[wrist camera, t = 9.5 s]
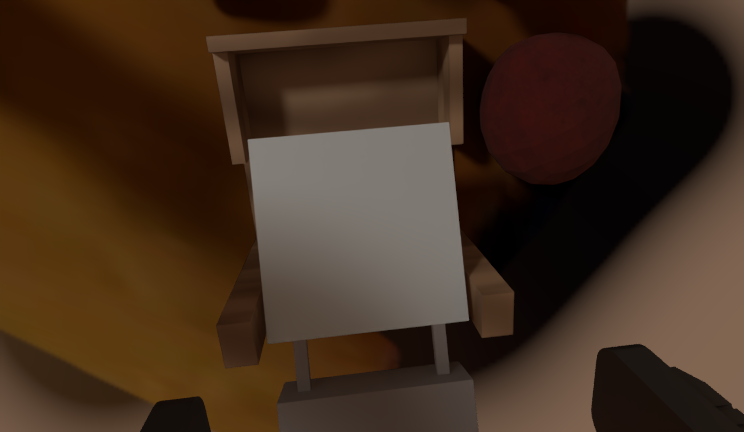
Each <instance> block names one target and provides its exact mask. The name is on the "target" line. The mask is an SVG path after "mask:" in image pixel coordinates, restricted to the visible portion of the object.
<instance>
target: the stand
mask: <svg viewBox="0 0 744 432" xmlns="http://www.w3.org/2000/svg"><path fill="white" fill-rule="evenodd" d="M466 33H467V19H466V18H461V19H447V20H433V21H419V22H405V23H391V24H377V25H363V26H349V27H335V28H321V29H307V30H293V31H279V32H265V33H252V34H238V35H224V36H210V37H206V40H207V46H208V51H209V53H213V59H214V64H215V70H216V75H217V81H218V87H219V92H220V98H221V103H222V109H223V115H224V120H225V126H226V131H227V137H228V143H229V148H230V154H231V159H232V165H234V164H244V167H245V173H246V179H247V185H248V191H249V196H250V202H251V208H252V214H253V220H254V226H255V232H256V239H255V242H254V244H253V246H252V248H251V250H250V253H249V255H248V257H247V259H246V261H245V264H244V266H243V268H242V270H241V272H240V275H239V277H238V279H237V281H236V283H235V285H234V288H233V290H232V292H231V294H230V296H229V299H228V301H227V303H226V305H225V307H224V310H223V312H222V314H221V316H220V318H219V321H218V323H217V325H216V327H217V332H218V337H219V341H220V346H221V351H222V355H223V360H224V364H225V368H233V367H241V366H250V365H258V364H259V360H260V356H261V352H262V348H263V344H264V340H265V336H266V322H265V312H264V302H263V292H262V281H261V271H260V261H259V251H258V240H257V230H256V220H255V210H254V199H253V189H252V179H251V169H250V158H249V148H248V139H260V138H271V137H283V136H294V135H306V134H317V133H329V132H340V131H352V130H364V129H375V128H387V127H398V126H410V125H421V124H433V123H444V122H449V127H450V137H451V145H456V144H463V34H466ZM460 236H461V246H462V256H463V266H464V276H465V285H466V295H467V305H468V314H469V316H470V318H471V319H472V321H473V323H474V325H475V326H476V328H477V330H478V332H479V333H480V335H481V337H482V338H485V337H493V336H502V335H511V334H513V313H514V291H513V290H512V289H511V288H510V287H509V285H508V284H507V283H506V282H505V281H504V280H503V278H502V277H501V276H500V275H499V274H498V272H497V271H496V270H495V269H494V268H493V266H492V265H491V264H490V263H489V262H488V260H487V259H486V258H485V257H484V256H483V254H482V253H481V252H480V251H479V250H478V249H477V247H476V246H475V245H474V244H473V243H472V241H471V240H470V239H469V238H468V237H467V235H466V234H465V233H464V232H463V231H462V230H461V228H460Z"/></svg>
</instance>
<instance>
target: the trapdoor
mask: <svg viewBox="0 0 744 432" xmlns="http://www.w3.org/2000/svg"><path fill="white" fill-rule="evenodd" d="M248 148H249V158H250V169H251V179H252V189H253V199H254V210H255V220H256V230H257V240H258V251H259V261H260V271H261V281H262V292H263V302H264V312H265V322H266V333H267V343H268V344H271V343H280V342H289V341H293V346H294V356H295V366H296V376H297V381H292V382H285V384H284V387H283V389H282V392H281V395H280V397H279V400H278V402H277V409H278V420H279V430H280V432H478V423H477V413H476V403H475V393H474V383H473V379H472V377H471V376H470V375H469V374H468V373H467V371H466V370H465V369H464V368H463V366H462V365H461V364H460V363H459V361H457V362H449V360H448V349H447V339H446V330H445V323H452V322H461V321H469V315H468V305H467V295H466V285H465V276H464V266H463V256H462V246H461V236H460V226H459V216H458V206H457V197H456V187H455V177H454V167H453V157H452V147H451V137H450V127H449V122H444V123H433V124H421V125H410V126H398V127H387V128H375V129H364V130H352V131H340V132H329V133H317V134H306V135H294V136H283V137H271V138H260V139H248ZM427 325H431V328H432V338H433V348H434V357H435V364H433V365H424V366H416V367H408V368H399V369H391V370H383V371H374V372H366V373H358V374H350V375H342V376H333V377H325V378H317V379H311V377H310V367H309V357H308V347H307V339H315V338H323V337H332V336H340V335H349V334H358V333H366V332H375V331H384V330H392V329H400V328H410V327H418V326H427Z"/></svg>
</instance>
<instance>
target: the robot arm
mask: <svg viewBox="0 0 744 432" xmlns="http://www.w3.org/2000/svg"><path fill="white" fill-rule="evenodd" d="M591 412H592V419H593V423H594V426H595V429H596V432H744V414H743V413H742V412H740V411H739V410H738V409H733V408H732V404H731V403H729V402H728V401H727V400H725V398H723V397H722V396H721V395H719V393H717V392H716V391H715V390H713V389H712V388H711V387H710V386H709V385H708V384H706V383H705V382H703V381H701V380H699V379H697V378H695V377H693V376H691V375H689V374H687V373H686V372H684V371H682V370H680V369H678V368H676V367H669V366H668V365H667V364H665V363H664V362H663V361H662V360H661V359H660V358H659V357H657V356H656V355H655V354H654V353H653V352H652V351H651V350H649V349H648V348H647V347H645V346H643V345H640V344H634V345H626V346H618V347H610V348H603V349H601V350H600V351H599V352H598V355H597V360H596V369H595V379H594V388H593V398H592V408H591ZM140 432H211V430H210V426H209V422H208V418H207V414H206V410H205V406H204V402H203V400H202V399H201V398H200V397H190V398H182V399H173V400H165V401H159V402H157V403H156V404H155V405H154V407H153V409H152V410H151V412H150V414H149V416H148V418H147V420H146V422H145V424H144V426H143V427H142V429H141V431H140Z"/></svg>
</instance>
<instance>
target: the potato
mask: <svg viewBox="0 0 744 432" xmlns="http://www.w3.org/2000/svg"><path fill="white" fill-rule="evenodd" d="M620 99H621V82H620V78H619V74H618V70H617V66H616V62H615V61H614V60H613V58H612V57H611V56H610V55H609V53H608V52H607V51H606V50H605V48H604V47H602V46H601V45H599V44H597V43H595V42H593V41H591V40H589V39H587V38H585V37H583V36H581V35H579V34H570V33H561V32H554V33H547V34H540V35H535V36H532V37H530V38H527V39H525V40H523V41H520V42H518V43H515V44H514V45H512V46H510V47H509V48H508V49H507V50H506V51H505V52H504V53H503V54H502V55H501V56H500V57H499V58H498V59H497V61H496V62H495V64H494V66H493V68H492V70H491V71H490V73H489V75H488V77H487V80H486V83H485V86H484V89H483V92H482V97H481V104H480V110H479V111H480V128H481V131H482V134H483V137H484V140H485V143H486V146H487V148H488V151H489V153H490V154H491V155H492V156H493V158H494V159H495V160H496V161H497V162H498V164H499V165H500V166H501V167H502V168H503V170H504V171H505V172H507V173H510V174H512V175H514V176H516V177H518V178H520V179H522V180H524V181H526V182H528V183H531V184H550V185H555V184H559V183H562V182H565V181H569V180H572V179H574V178H576V177H577V176H578V175H580V174H581V173H582V172H584V171H585V170H587V169H588V168H589V167H591V166H592V165H593V164H594V163H595V162H596V161H597V159H598V158H599V157H600V155H601V154H602V153H603V151H604V150H605V149H606V147H607V146H608V144H609V142H610V139H611V137H612V134H613V131H614V129H615V126H616V124H617V121H618V119H619V112H620Z"/></svg>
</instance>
